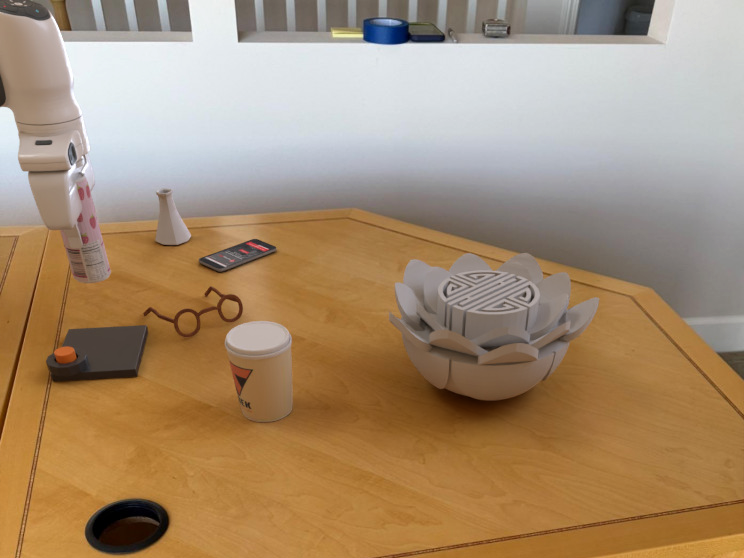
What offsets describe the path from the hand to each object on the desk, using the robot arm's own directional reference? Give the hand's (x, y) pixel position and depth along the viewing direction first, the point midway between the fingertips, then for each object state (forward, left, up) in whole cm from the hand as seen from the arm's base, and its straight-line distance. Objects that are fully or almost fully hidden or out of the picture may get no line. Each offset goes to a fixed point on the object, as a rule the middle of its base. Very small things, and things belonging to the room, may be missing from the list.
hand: (81, 237), depth 117 cm
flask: (+6, +46, -18) cm, 50 cm away
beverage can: (0, 0, -6) cm, 6 cm away
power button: (-5, -8, -16) cm, 19 cm away
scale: (-1, -3, -18) cm, 19 cm away
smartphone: (+20, +35, -18) cm, 44 cm away
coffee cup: (+26, -22, -18) cm, 39 cm away
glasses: (+13, +9, -18) cm, 24 cm away
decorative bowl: (+59, -17, -18) cm, 64 cm away
